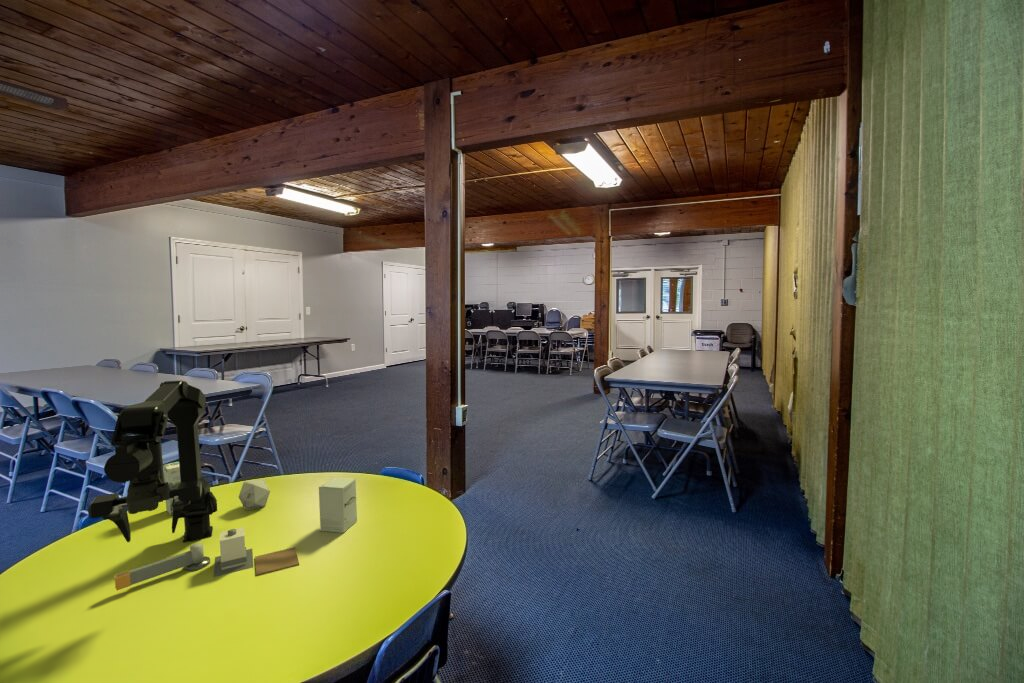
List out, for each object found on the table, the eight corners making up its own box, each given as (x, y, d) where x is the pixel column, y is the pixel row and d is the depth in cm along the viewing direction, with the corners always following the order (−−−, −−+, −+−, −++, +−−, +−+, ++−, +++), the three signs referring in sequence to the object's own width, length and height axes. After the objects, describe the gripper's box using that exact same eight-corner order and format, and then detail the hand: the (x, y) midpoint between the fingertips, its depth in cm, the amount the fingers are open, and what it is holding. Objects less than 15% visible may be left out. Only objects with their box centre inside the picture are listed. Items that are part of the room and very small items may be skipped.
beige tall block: (221, 559, 118) (219, 528, 117) (246, 553, 120) (244, 523, 119) (220, 570, 113) (218, 538, 112) (246, 564, 115) (245, 532, 115)
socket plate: (215, 558, 119) (215, 557, 119) (252, 549, 123) (252, 548, 123) (213, 578, 110) (213, 576, 110) (253, 568, 114) (253, 567, 114)
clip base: (186, 564, 116) (186, 560, 116) (210, 558, 119) (210, 554, 119) (184, 574, 112) (184, 569, 112) (209, 568, 114) (209, 563, 114)
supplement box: (344, 533, 131) (342, 488, 130) (319, 531, 132) (317, 486, 131) (358, 521, 138) (356, 478, 137) (334, 519, 139) (332, 476, 138)
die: (232, 510, 148) (230, 492, 142) (250, 487, 155) (249, 468, 149) (259, 520, 148) (258, 501, 142) (276, 496, 155) (276, 477, 149)
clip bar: (202, 556, 117) (201, 541, 117) (205, 560, 115) (204, 545, 115) (115, 586, 105) (113, 570, 105) (117, 591, 103) (115, 574, 103)
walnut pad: (255, 558, 118) (255, 556, 118) (295, 549, 123) (295, 546, 123) (256, 577, 110) (256, 574, 110) (299, 565, 115) (299, 563, 115)
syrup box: (188, 504, 151) (185, 459, 150) (193, 510, 147) (189, 463, 145) (166, 510, 147) (162, 463, 145) (170, 516, 143) (167, 468, 141)
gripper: (76, 486, 90) (84, 567, 91) (196, 468, 99) (201, 541, 101) (92, 469, 100) (98, 541, 101) (199, 454, 109) (204, 520, 110)
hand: (151, 536), depth 103 cm, fingers open, 7 cm apart
